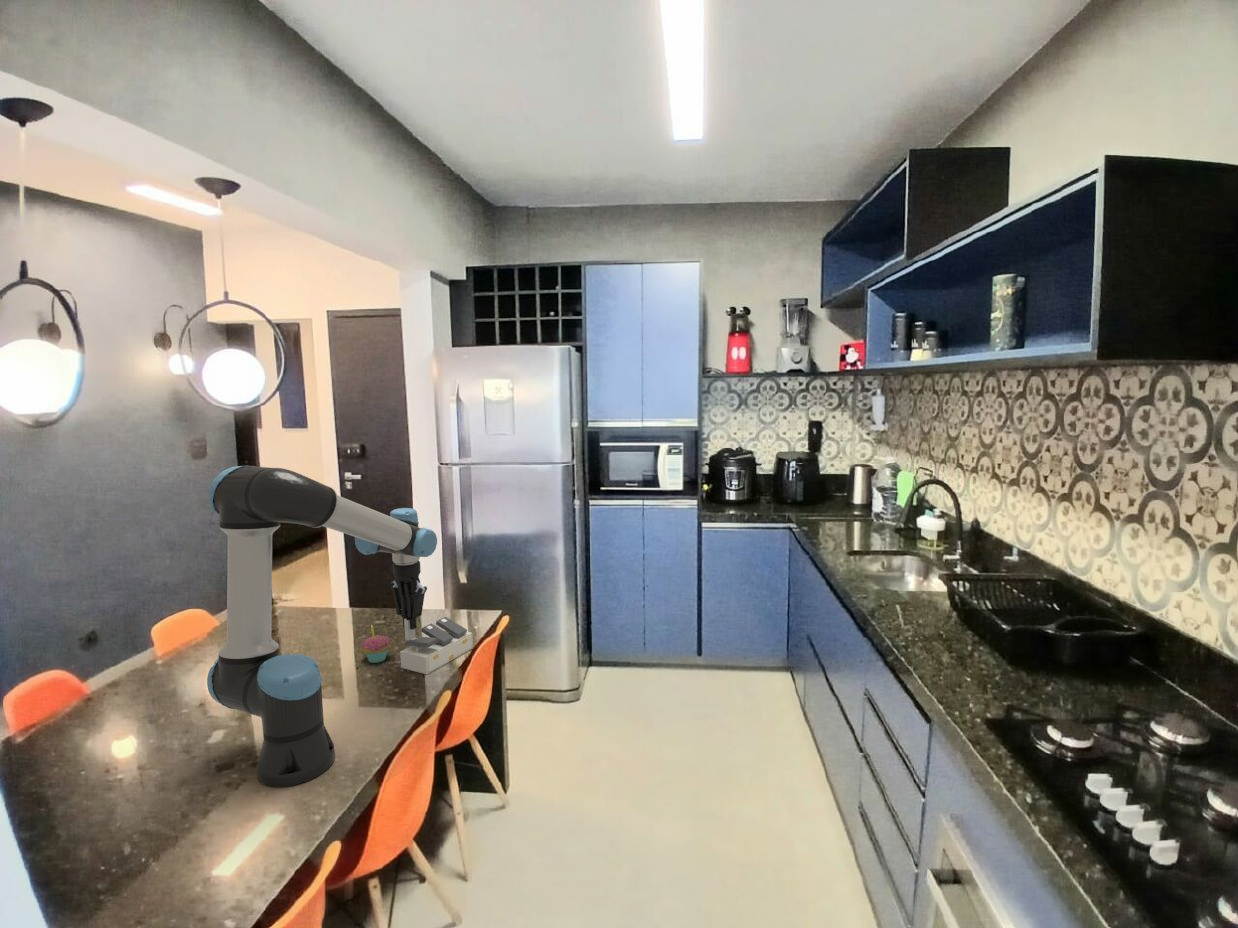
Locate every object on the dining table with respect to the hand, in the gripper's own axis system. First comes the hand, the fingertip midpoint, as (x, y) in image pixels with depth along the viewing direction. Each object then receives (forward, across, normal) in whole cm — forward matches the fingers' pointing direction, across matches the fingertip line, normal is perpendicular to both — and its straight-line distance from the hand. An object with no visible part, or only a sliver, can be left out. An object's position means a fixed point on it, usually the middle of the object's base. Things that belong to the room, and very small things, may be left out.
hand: (410, 638), depth 186 cm
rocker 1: (0, -5, 0) cm, 5 cm away
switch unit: (+7, -5, -6) cm, 11 cm away
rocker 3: (0, -5, -12) cm, 13 cm away
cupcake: (+8, +11, +3) cm, 14 cm away
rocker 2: (0, -5, -6) cm, 8 cm away
